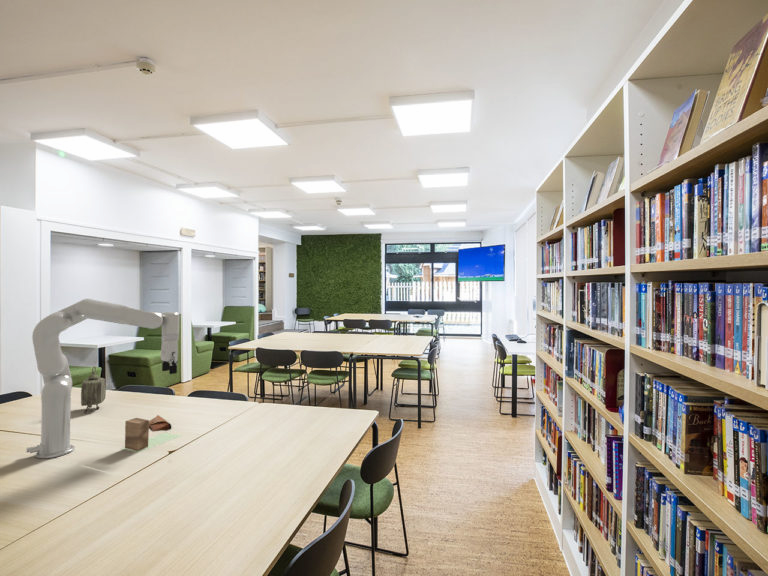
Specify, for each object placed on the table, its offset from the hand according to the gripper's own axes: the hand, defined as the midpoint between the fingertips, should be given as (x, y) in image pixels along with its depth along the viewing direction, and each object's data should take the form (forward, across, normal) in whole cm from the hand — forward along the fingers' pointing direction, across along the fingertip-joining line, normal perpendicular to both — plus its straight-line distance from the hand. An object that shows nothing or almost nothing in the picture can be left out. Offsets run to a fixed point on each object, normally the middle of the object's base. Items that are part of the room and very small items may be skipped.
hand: (169, 372), depth 192 cm
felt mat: (+30, +8, -9) cm, 32 cm away
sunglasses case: (+31, -14, 0) cm, 34 cm away
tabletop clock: (+30, -70, -16) cm, 78 cm away
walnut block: (+30, +10, -16) cm, 35 cm away
